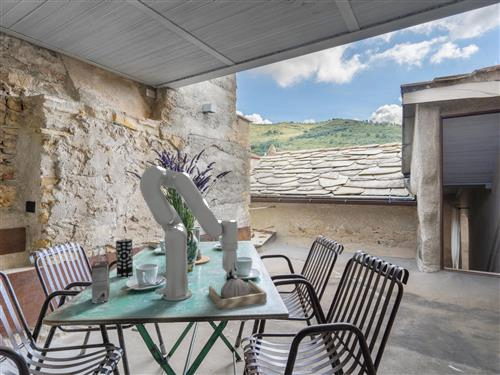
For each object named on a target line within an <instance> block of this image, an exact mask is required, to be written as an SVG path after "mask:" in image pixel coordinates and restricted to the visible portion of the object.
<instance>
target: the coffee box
mask: <svg viewBox="0 0 500 375" xmlns="http://www.w3.org/2000/svg"><path fill="white" fill-rule="evenodd" d="M90 268H91V304H92V303H95V302H102V301H108V302H109V300H108V299H110V296H109V295H111V293H110V292H111V289H110V288H111V285H110V284H111V283H110V281H111V280H110V260H99V261H94V262H93V263H92V265H91V267H90Z"/></svg>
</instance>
